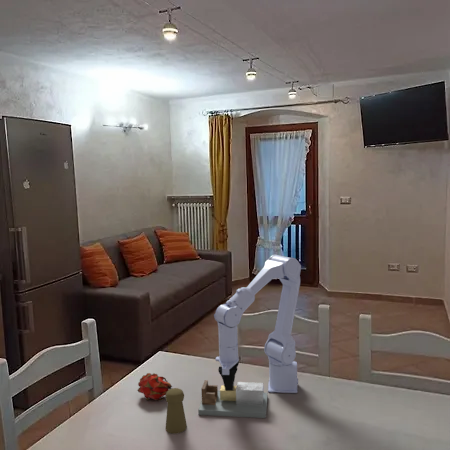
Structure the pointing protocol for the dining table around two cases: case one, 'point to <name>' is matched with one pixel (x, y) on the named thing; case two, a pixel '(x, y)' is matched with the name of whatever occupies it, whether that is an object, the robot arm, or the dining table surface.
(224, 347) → the robot arm
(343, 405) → the dining table surface
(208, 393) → the walnut socket
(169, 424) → the olive green pawn
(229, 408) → the slate board
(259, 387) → the aluminium sleeve
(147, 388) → the dragon fruit
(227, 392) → the brushed brass bar
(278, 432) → the dining table surface
